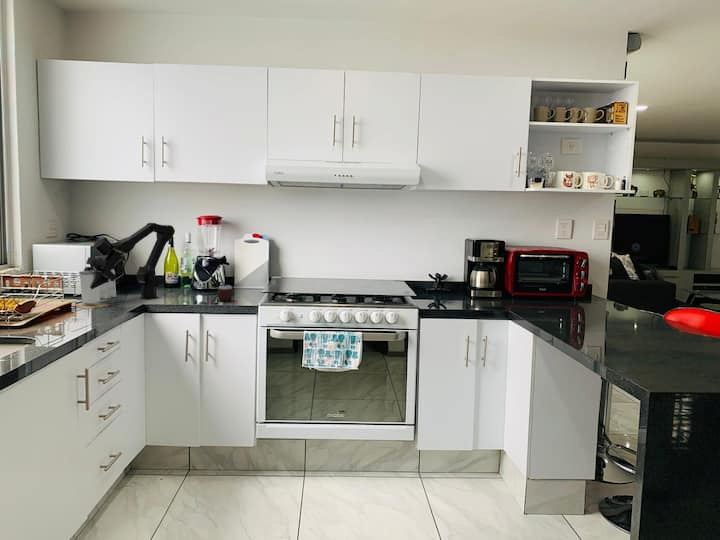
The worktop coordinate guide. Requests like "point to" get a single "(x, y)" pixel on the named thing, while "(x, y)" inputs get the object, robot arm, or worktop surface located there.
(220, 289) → the mate gourd
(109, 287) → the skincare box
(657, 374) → the worktop surface
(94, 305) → the oak board
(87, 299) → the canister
